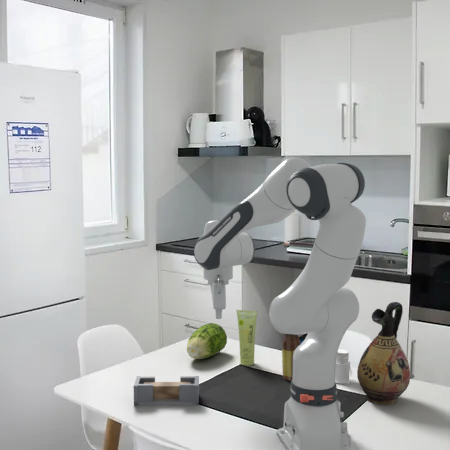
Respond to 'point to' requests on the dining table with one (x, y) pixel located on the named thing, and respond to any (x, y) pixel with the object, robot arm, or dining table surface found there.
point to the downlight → (342, 367)
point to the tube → (247, 335)
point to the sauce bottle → (289, 354)
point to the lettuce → (206, 341)
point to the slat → (166, 389)
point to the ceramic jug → (384, 360)
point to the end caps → (186, 397)
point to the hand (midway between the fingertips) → (218, 318)
